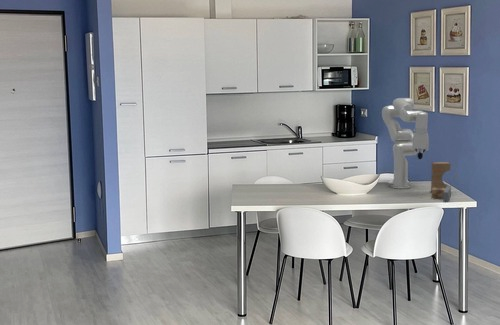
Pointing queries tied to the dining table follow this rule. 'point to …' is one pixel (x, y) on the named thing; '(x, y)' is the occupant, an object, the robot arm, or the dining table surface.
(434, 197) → the walnut block
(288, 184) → the dining table surface
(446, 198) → the charcoal board
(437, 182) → the decorative block
